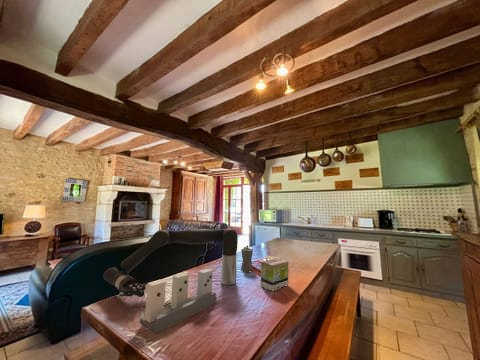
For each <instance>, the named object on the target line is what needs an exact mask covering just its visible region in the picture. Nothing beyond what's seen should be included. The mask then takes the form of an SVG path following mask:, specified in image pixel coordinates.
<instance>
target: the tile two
mask: <svg viewBox="0 0 480 360" xmlns="http://www.w3.org/2000/svg"><path fill="white" fill-rule="evenodd" d="M189 275H190V274H188V273H186V272H182V273H181V272H180V273H177V274H174V275H172V285H171V301H170V305H171V308H172V309H175V308H177V307H179V306H182V305H184V304H186V303H187V299H188V298H189V296H188V295H189V294H188V293H189V277H190V276H189Z"/></svg>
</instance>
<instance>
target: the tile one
mask: <svg viewBox="0 0 480 360" xmlns="http://www.w3.org/2000/svg"><path fill="white" fill-rule="evenodd" d="M145 297H146V298H145V313H144V316H145V320H147V321H148V322H149V323H150V322H152V321H154V318H155V317H156V316H159V315H161V314H163V313H164V308H165V302H166V301H165V299H166V298H165V297H166V280H164V279H162V278H161V279H160V278H159V279H158V280H154V281H150V282H147V284H146V296H145Z"/></svg>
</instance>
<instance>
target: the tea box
mask: <svg viewBox="0 0 480 360" xmlns="http://www.w3.org/2000/svg"><path fill="white" fill-rule="evenodd" d="M260 265H261V266H260V271H261V272H260V287H261V288H263V287H264V289H265V288H266V289H265V290H268V289H269V290H268V291H270V290H272V291H273V292H275V291H277V289H278V290H280V289H282V288H281V287H283V286H285V285H288V286H289V261H287V260H284V259H281V258H280V259H277V258H276V259H272V260H267V261H266V260H263V261H261V263H260ZM279 288H280V289H279ZM283 288H284V287H283ZM274 290H275V291H274ZM272 291H271V292H272Z"/></svg>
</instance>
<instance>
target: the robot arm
mask: <svg viewBox="0 0 480 360" xmlns="http://www.w3.org/2000/svg"><path fill="white" fill-rule="evenodd" d="M238 240H239V237H238V233H237V231H236V230H235V229H233V228H230V227H229V228H228V227H227V228H223V229H222V228H220V229H208V228H207V229H206V228H201V229H200V228H193V229H192V228H191V229H183V230H169V229H168V230H166V229H160V230H157V231H156V232H155V233H154V234H153V235H152V236H151V237H150V238H149V239H148V241H147V242H145V243H144V244H143V245H142V246H141V247H139V248H138V249H136V250H135V251H134V252H133V253H131V254H130V255H129V256H128V257H127V258H125V259H124V260H123V261H122V262H121V263H120V268H121V270H119V269H118V268H116V267H109V268H108V269H106V270H105V271H104V273H103V279H104V280H105V281H106V282H107V283H109V284H110V285H112V286H113V287H114V288H116V289H117V290H118V291H119V297H133V296H137V297H139V298H142V297H144V296H145V291H146V290H147V284H148V282H143V283H142V284H141V282H140V283H139V282H138V280H137V279H136V278H134V277H132V276H130V275H129V273H130V272H131V271H132V270H134V269H135V268H136V267H138V266H139V264H141V263H142V262H143V261H144V260H145V259H146V257H148V256H149V255H150V254H151V253H152V252H155V251H157V249H159V248H160V247H164V246H165V245H167V244H168V245H169V244H175V243H176V244H177V243H178V244H187V245H205V244H208V243H214V242H222V250H221V251H222V253H221V275H220V276H221V279H220V280H221V281H220V283H221V284H222V285H224V286H233V285H236V284H237V253H238V252H237V251H238V242H239V241H238Z"/></svg>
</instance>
